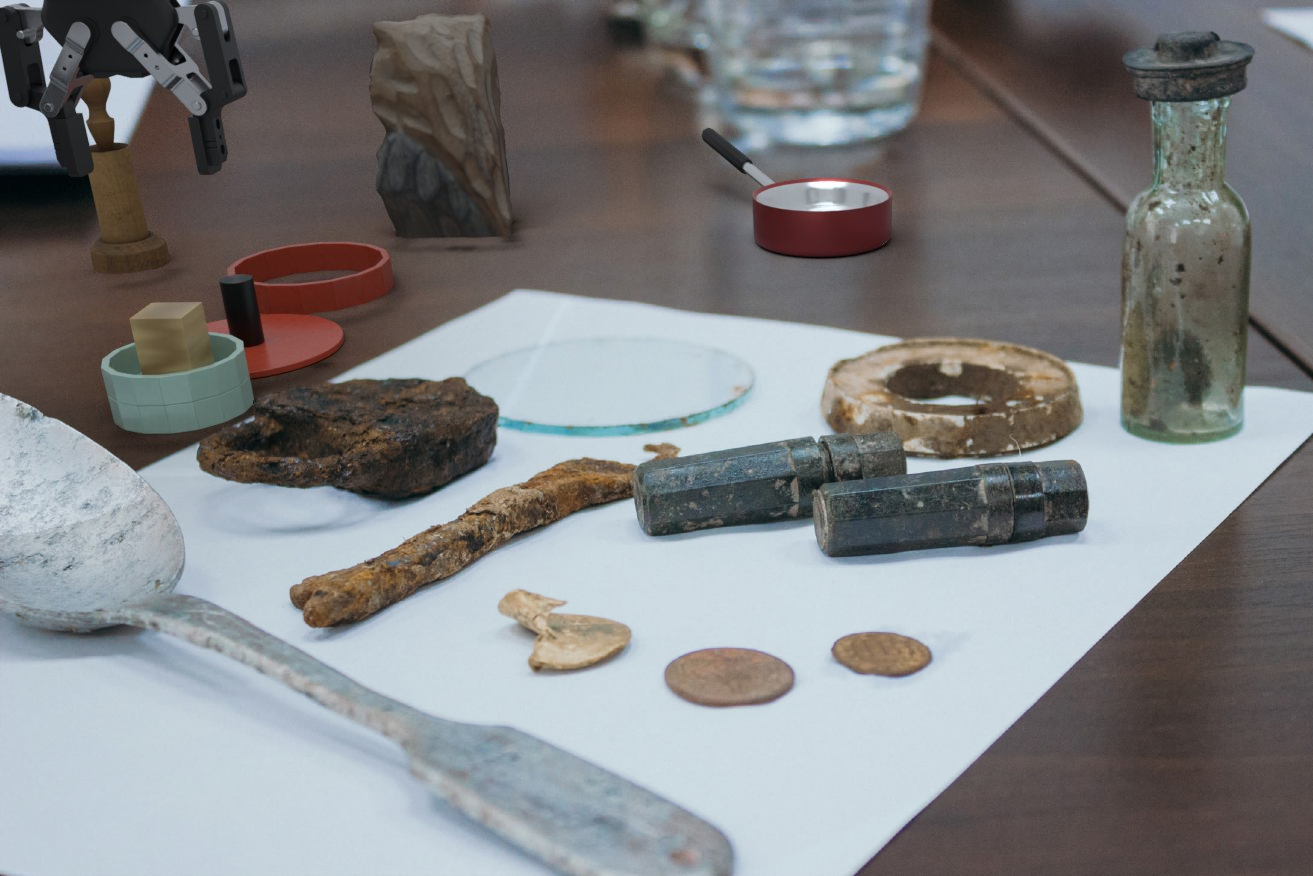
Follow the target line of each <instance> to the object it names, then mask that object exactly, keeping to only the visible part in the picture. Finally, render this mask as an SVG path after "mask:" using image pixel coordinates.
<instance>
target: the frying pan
mask: <svg viewBox="0 0 1313 876" xmlns="http://www.w3.org/2000/svg"><path fill="white" fill-rule="evenodd" d="M701 138H702V141H703V142H704V143H705V144H706V145H708V147H710V148H711V149H712V150H713V151H714V152H715V153H717V154H718V155H719V156H721V157H722V158H723V159H724V160H726V162H728V163H729V164H731V166H732V167H734V168H735V169H736V170H737V171H738V172H740V173H741V174H743V175H746V176H748V177H750V179H752V180H753V181H754V182H756V183H757V184H758V185H759V186H760V187H759V188H757V189H756V190H755V191H753V193H752V194H751V195H752V199H751V200H752V224H753V225H752V229H753V230H752V231H753V232H752V233H753V238H754V240H755V241H754V242H756V243H757V244H758V245H759V246H760V247H761V248H763V249H765V250H767V251H770V252H773V253H776V254H782V255H785V256H794V257H802V258H803V257H804V258H835V257H837V258H838V257H846V256H854V255H859V254H864V253H868V252H871V251H874V250H876V249H879V248H881V247H882V246H884V245H886V244H887V243H888V242H889V240H890V239H891V237H892V232H893V191H892V190H891V189H890V188H889V187H887V186H885V185H883V184H880V183H877V182H873V181H867V180H863V179H854V178H841V177H815V178H814V177H813V178H811V177H810V178H797V179H790V180H783V181H777V182H775V181H773V180H772V179H771V178H770V177H769V176H768V175H766V174H765V173H764V172H763V171H761V170H760V169H759V168H757V167H756V166H755V165H754V163H753V160H752V159H750V158H749V157H748V156H747V155H745V154H744V153H743V152H741V150H739V149H738V148H737V147H735V145H733V143H730V141H728V140H727V139H725V137H723V136H722V135H721V134H720V133H719V132H717V131H716V130H715V129H714V128H711V127H707V128H704V129H703V130H702V133H701ZM889 238H890V239H889ZM886 241H887V242H886ZM885 242H886V243H885ZM883 243H884V244H883ZM882 244H883V245H882Z"/></svg>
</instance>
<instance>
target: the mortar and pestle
mask: <svg viewBox="0 0 1313 876" xmlns="http://www.w3.org/2000/svg"><path fill="white" fill-rule="evenodd" d="M111 89H112V81H111V77H109V78H98V79H94V78H93V80H92V81H91V82H90V83H89V84H88V85H87V86H86V88H85V90H84V92H83V94H82V96H81V98H80V100H82V101H83V103H84V104H85V105H86V107H87V109H88V118H87V119H86V120H85V123H86V124H85V125H86V126H87V128H88V131H89V133H90V135H91V137H92V139H93V140H94V144H90V150H91V154H92V158H93V163H94V170H93V172H91V173H89V174H87V175H88V178H89V182H90V187H91V192H92V196H93V201H94V205H95V210H96V211H95V212H96V216H97V219H98V224H99V229H100V234H101V236H100V237H98V238H97V239H96V240H95V242H94V243H93V244H92V245H91V246H90V247H89V256H90V260H91V264H92V265H91V266H92V269H93V270H92V271H93V273H94V274H96V273H99V274H107V275H108V274H110V275H118V274H119V275H121V274H130V273H137V272H144V271H149V270H157V269H159V268H162V267H164V266H166V265H168V264H169V263H170V262H171V256H170V253H169V249H168V243H167V241H166V239H165V238H163V237H161V236H159V235H158V234H157V233H155V232H154V231H151V230H149V229H148V226H147V219H146V215H145V211H144V206H143V202H142V197H141V192H140V187H139V183H138V177H137V175H136V173H137V172H136V168H135V164H134V160H133V155H132V149H131V145H130V144H128V143H125V142H115V130H116V129H115V128H116V127H115V126H116V124H115V118H114V117H112V116H110V115H109V113H108V111H107V102H108V99H109V96H110V93H111Z"/></svg>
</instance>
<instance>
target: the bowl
mask: <svg viewBox="0 0 1313 876" xmlns="http://www.w3.org/2000/svg"><path fill="white" fill-rule="evenodd" d="M208 334H209V338H210V343H211V348H212V353H213V358H214V364H212V365H209V366H205V367H201V368H197V369H193V370H189V371H185V372H177V373H170V374H162V375H142V372H141V368H140V364H139V359H138V355H137V351H136V346H135V342H130V343H129V344H126V345H124V346H121V347H119V348H116V349H114V350H112V351H111V352H110V353H108V354H107V355H106V356H104V357H103V358H102V359H101V365H100V370H101V374H102V379H103V383H104V387H105V390H106V395H107V398H108V403H109V406H110V411H111V415H112V419H113V423H114V424H115V425H116V426H118V427H119V428H121V429H122V430H124V431H128V432H131V433H132V432H133V433H136V434H137V433H138V434H144V435H162V434H163V435H168V434H170V435H171V434H172V435H173V434H178V433H184V432H185V433H186V432H192V431H199V430H203V429H207V428H209V427H213V426H217V425H221V424H223V423H227V422H229V421H231V420H233V419H235V418H237V417H239V416H242V415H244V414H245V413H246V412H247V411H248V410H249V409H250V408H252V406H253V405H254V404H253V400H254V401H255V394H254V390H253V383H252V379H250V374H249V369H248V363H247V358H246V353H245V348H244V343H243V341H242V340H240V339H238V338H236V337H234V336H232V335H227V334H221V333H214V332H208Z"/></svg>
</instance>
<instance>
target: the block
mask: <svg viewBox="0 0 1313 876" xmlns="http://www.w3.org/2000/svg"><path fill="white" fill-rule="evenodd" d="M128 319H129V324H130V329H131V333H132V338H133V341H134V342H135V346H136V351H137V355H138V359H139V364H140V368H141V372H142V375H162V374H170V373H177V372H185V371H189V370H193V369H197V368H201V367H205V366H209V365H212V364H214V358H213V353H212V348H211V343H210V338H209V334H208V329H207V319H206V315H205V309H204V304H203V302H202V301H180V302H179V301H174V302H172V301H171V302H169V301H167V302H165V301H164V302H150V303H149V304H147V305H146V306H144V308H142V309H141V310H139V311H138V312H137V313H136V314H134V315H133V316H131V317H130V318H128Z"/></svg>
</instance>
